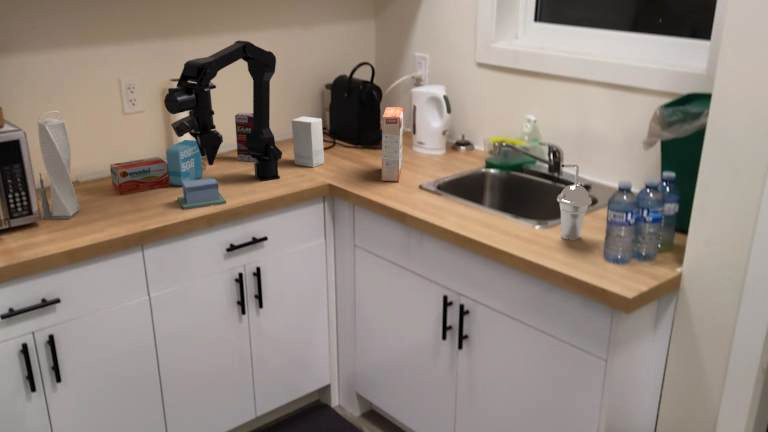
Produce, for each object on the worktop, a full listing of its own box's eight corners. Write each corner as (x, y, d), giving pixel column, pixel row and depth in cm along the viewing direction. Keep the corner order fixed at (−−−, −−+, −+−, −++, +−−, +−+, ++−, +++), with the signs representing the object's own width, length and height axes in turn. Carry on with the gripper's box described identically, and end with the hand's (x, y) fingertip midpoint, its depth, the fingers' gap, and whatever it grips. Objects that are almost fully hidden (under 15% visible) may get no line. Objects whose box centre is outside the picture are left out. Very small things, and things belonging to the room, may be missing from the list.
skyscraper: (57, 208, 198) (40, 109, 188) (86, 208, 198) (70, 110, 188) (43, 219, 190) (24, 117, 180) (72, 219, 190) (56, 117, 180)
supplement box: (237, 161, 242) (234, 115, 236) (242, 157, 246) (239, 112, 241) (261, 162, 240) (258, 116, 235) (266, 158, 245) (263, 113, 239)
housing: (214, 193, 208) (213, 177, 206) (219, 199, 203) (218, 183, 201) (183, 198, 204) (182, 181, 202) (187, 204, 199) (186, 187, 198)
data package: (182, 187, 215) (178, 149, 211) (169, 186, 217) (165, 148, 212) (203, 176, 226) (199, 139, 222) (190, 174, 227) (187, 138, 223)
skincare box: (324, 163, 240) (323, 118, 234) (312, 168, 234) (311, 122, 229) (305, 159, 244) (303, 115, 238) (292, 164, 239) (291, 119, 233)
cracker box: (400, 182, 221) (401, 116, 214) (380, 181, 222) (381, 116, 214) (403, 169, 234) (404, 106, 227) (384, 168, 235) (385, 106, 227)
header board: (218, 194, 210) (217, 181, 209) (226, 203, 202) (225, 190, 201) (177, 199, 205) (176, 187, 204) (183, 209, 198) (182, 196, 196)
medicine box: (161, 180, 223) (159, 155, 220) (170, 187, 216) (168, 161, 214) (112, 188, 215) (109, 163, 212) (120, 196, 208) (116, 170, 205)
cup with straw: (592, 242, 178) (601, 166, 170) (557, 243, 177) (564, 167, 170) (580, 229, 185) (589, 156, 178) (547, 230, 185) (554, 156, 178)
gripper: (165, 103, 201) (172, 155, 207) (178, 117, 185) (185, 174, 191) (204, 99, 205) (210, 150, 211) (220, 112, 190) (225, 168, 196)
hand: (206, 160), depth 202 cm, fingers open, 9 cm apart
